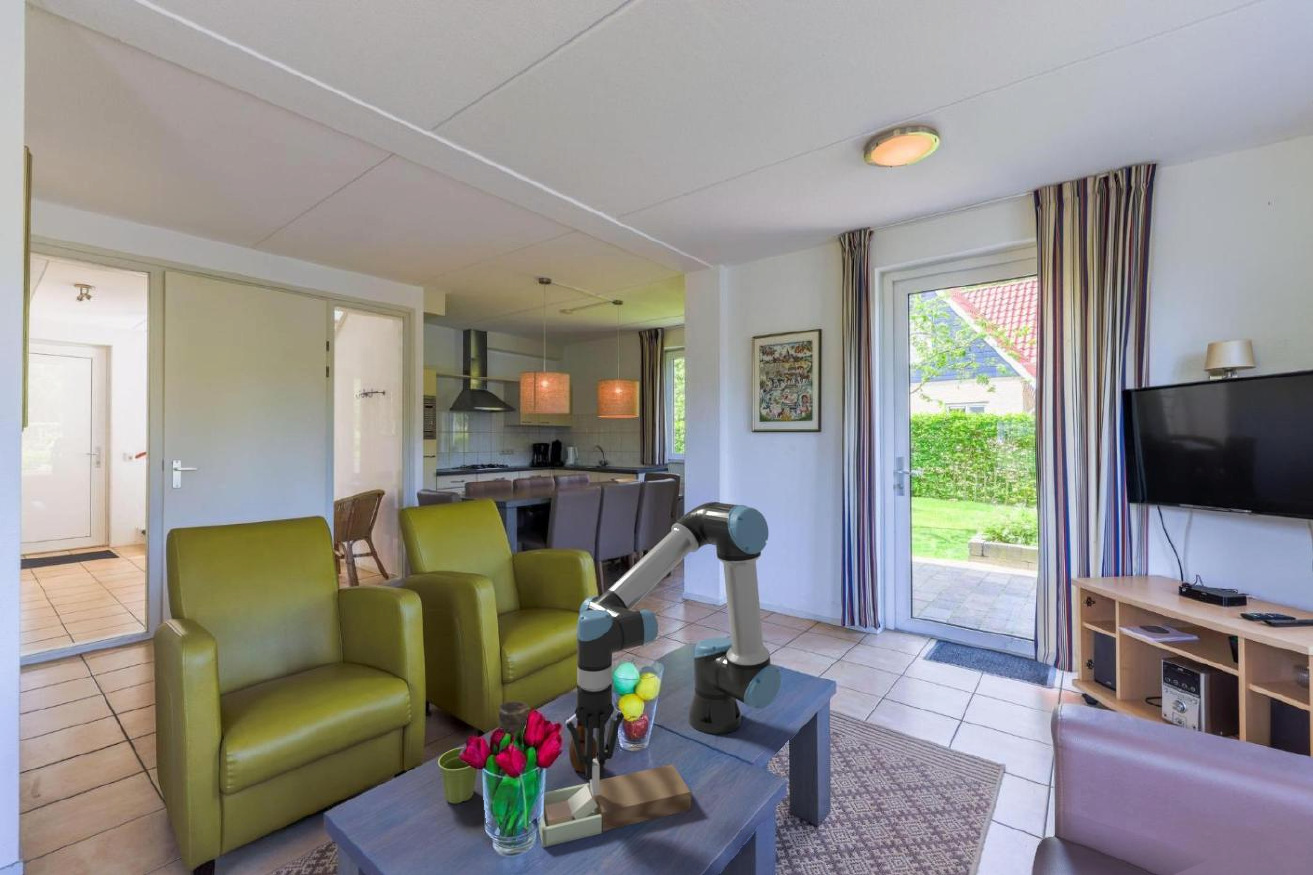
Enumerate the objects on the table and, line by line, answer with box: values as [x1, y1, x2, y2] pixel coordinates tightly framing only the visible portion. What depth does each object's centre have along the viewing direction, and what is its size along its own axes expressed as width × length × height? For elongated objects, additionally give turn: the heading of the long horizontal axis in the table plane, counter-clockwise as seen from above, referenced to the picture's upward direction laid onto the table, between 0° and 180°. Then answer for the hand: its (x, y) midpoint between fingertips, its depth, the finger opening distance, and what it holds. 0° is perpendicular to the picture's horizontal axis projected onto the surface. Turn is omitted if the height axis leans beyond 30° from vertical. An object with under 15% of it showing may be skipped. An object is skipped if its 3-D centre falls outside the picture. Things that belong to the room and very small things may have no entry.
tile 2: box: [568, 783, 598, 820], centre depth 122 cm, size 5×5×2 cm
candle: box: [498, 701, 531, 735], centre depth 131 cm, size 8×7×20 cm
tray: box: [538, 782, 603, 848], centre depth 121 cm, size 12×12×4 cm
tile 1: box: [545, 801, 572, 826], centre depth 120 cm, size 5×5×2 cm
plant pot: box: [437, 746, 478, 804], centre depth 130 cm, size 9×9×9 cm
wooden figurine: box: [568, 720, 597, 773], centre depth 141 cm, size 7×6×15 cm
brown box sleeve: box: [594, 764, 692, 832], centre depth 127 cm, size 20×11×4 cm, turn 110°
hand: (594, 791), depth 123 cm, fingers closed
